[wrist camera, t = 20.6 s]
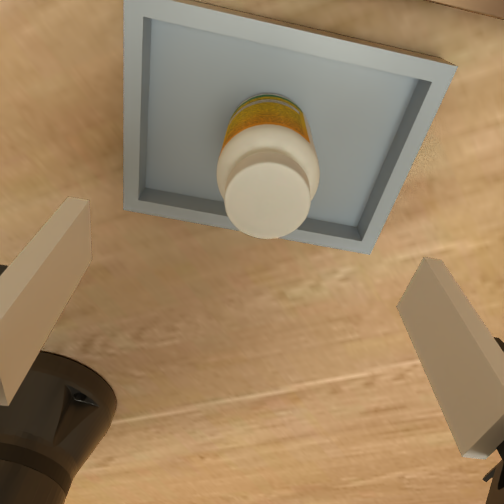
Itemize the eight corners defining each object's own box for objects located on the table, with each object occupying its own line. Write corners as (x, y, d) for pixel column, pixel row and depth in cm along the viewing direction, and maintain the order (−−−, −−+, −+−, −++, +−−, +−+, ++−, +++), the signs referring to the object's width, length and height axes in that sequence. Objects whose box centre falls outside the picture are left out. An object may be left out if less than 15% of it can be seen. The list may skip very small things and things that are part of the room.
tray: (133, 193, 29) (123, 209, 27) (137, -13, 22) (123, -11, 20) (363, 235, 31) (370, 254, 29) (441, 58, 23) (458, 66, 21)
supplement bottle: (321, 150, 26) (344, 226, 18) (251, 184, 28) (245, 267, 20) (286, 73, 23) (296, 125, 16) (211, 116, 25) (186, 182, 17)
